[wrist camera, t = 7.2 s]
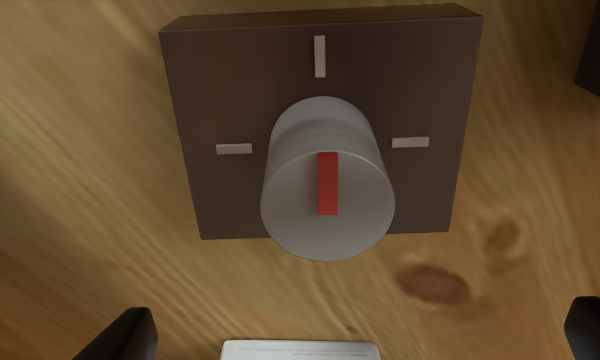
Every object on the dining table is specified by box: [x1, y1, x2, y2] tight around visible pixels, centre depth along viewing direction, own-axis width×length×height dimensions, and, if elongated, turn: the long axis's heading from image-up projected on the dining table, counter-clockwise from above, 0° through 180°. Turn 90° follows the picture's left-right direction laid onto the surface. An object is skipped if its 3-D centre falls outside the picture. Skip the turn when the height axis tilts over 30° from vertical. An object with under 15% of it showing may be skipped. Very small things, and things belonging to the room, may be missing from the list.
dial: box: [260, 96, 395, 262], centre depth 14 cm, size 4×4×5 cm
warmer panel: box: [158, 3, 483, 240], centre depth 18 cm, size 11×9×3 cm
